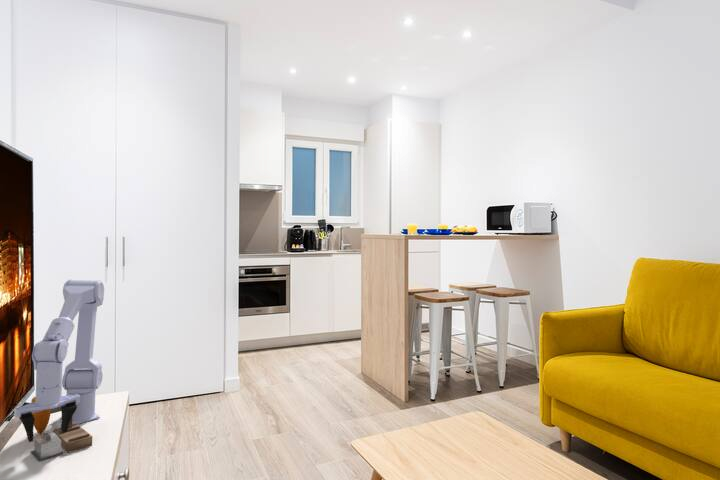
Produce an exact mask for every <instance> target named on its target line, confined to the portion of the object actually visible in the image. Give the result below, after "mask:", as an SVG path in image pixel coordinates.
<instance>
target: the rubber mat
mask: <svg viewBox="0 0 720 480" xmlns="http://www.w3.org/2000/svg"><path fill="white" fill-rule="evenodd" d="M30 454H31V455H32V456H33V457H34V458H35V460H37V462H43V461H46V460H49V459H52V458H56V457H58V456H62V455H64V451H62V450H61V453H59V454H56V455H53V456H49V457H46V458H43V459H40V458H39V456H38V455H37V454H36V453H35V452H34V449H32V450H30Z"/></svg>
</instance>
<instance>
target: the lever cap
mask: <svg viewBox="0 0 720 480" xmlns="http://www.w3.org/2000/svg"><path fill="white" fill-rule="evenodd" d="M33 442H34V444H33V450H34V452H35V453H36V454H37V455H38V456H39V458H40V459H43V458H46V457H49V456H53V455H56V454H59V453H61V451H62V447H61V439H60V438H59V437H58V436H57V435H56V434H55V433H53V432H43V433H42V435H39V436H35V437H34V438H33Z"/></svg>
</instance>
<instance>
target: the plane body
mask: <svg viewBox="0 0 720 480" xmlns="http://www.w3.org/2000/svg"><path fill="white" fill-rule="evenodd" d="M52 433H55V434H56V435H57V436H58V437H59V438H60V439H61V449H63V450H64V451H65V452H66V453H71V452H74V451H77V450H81V449H82V450H83V449H84V448H88V447H91V446H93V435H91V434H90V433H89V432H88V431H87V430H85V429H84V428H83V427H82V426H80V424H72V418H71V420H70V422H69V425H68V429H67V432H65V433H64V432H62V431H61V427H58V428H55V429H52Z"/></svg>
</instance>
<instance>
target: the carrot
mask: <svg viewBox="0 0 720 480" xmlns="http://www.w3.org/2000/svg"><path fill="white" fill-rule="evenodd" d="M33 402H36V396H33V397H32V399H31V403H33ZM51 414H52V409H47V410H43V411H39V412H35V413H32V415H33V417H34V418H35V421H34V429H35V430H36V432H37V434H38V435H39V436H42V435H43V433H45V430H46V429H47V426H48V425H49V421H50V418H51Z"/></svg>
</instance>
